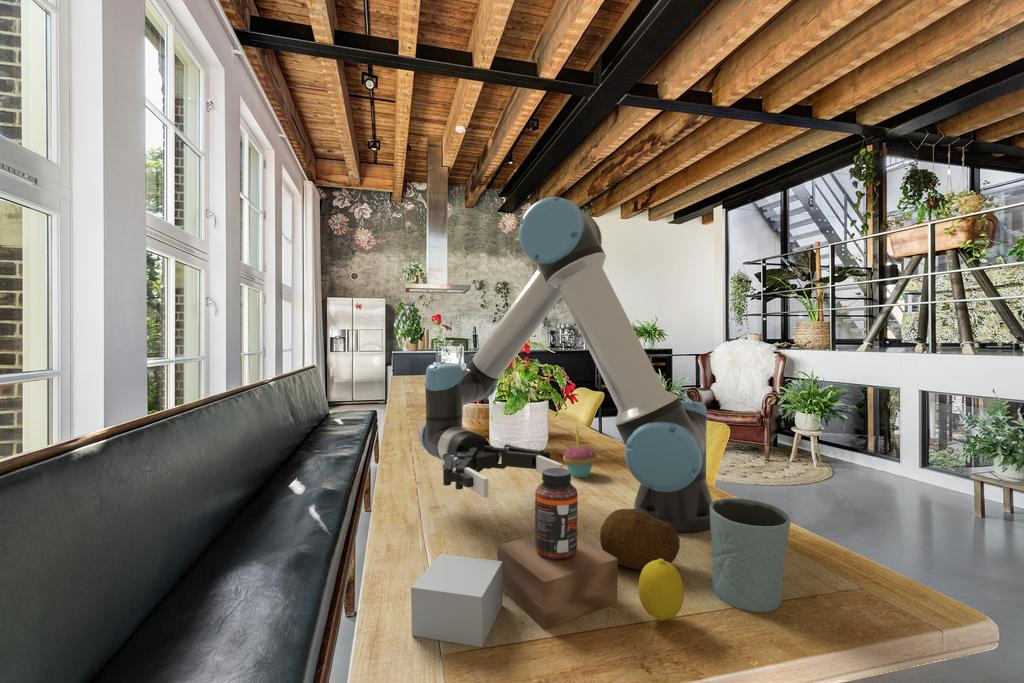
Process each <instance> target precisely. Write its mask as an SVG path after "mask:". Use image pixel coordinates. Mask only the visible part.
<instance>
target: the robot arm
mask: <svg viewBox="0 0 1024 683" xmlns="http://www.w3.org/2000/svg"><path fill="white" fill-rule="evenodd" d="M518 239H519V244H520V248H521V249H522V251H523V252H524V253H525V255H527V257H528V258H529V259H530V260H532V261H533V262H535V263H536V264H537V270H536V271H535V272H534V273H533V275H532V276H531V278H530V279H529V280H528V282H527V283H526V285H525V286H524V287H523V289H522V290H521V291H520V293H519V294H518V295H517V297H516V299H515V300H514V301H513V303H512V304H511V306H510V307H509V308H508V309H507V310H506V312H505V313H504V314H503V316H502V317H501V319H500V320H499V321H498V323H497V324H496V326H495V327H494V328H493V330H492V331H491V333H490V334H489V335H488V337H487V338H486V339H485V341H484V342H483V344H482V345H481V346H480V348H479V349H478V350H477V351H476V353H475V354H474V356H473V357H472V359H471V360H470V362H469V363H468V364H467V366H466V367H465V368H464V369H463V368H462V365H460V364H459V363H433V364H429V365H428V366H427V368H426V370H425V382H424V386H425V388H424V389H425V422H424V424H423V425H422V427H421V429H420V431H419V436H418V437H419V438H418V439H419V442H420V444H421V446H422V448H423V449H424V450H425V451H426V452H427V453H428V454H429V455H431V456H433V457H435V458H438V459H440V460H442V472H443V473H442V475H443V476H442V478H443V479H442V480H443V481H442V482H443V483H442V484H443V486H446V487H447V486H451V485H452V483H455V490H457V491H458V490H463V489H464V488H468V489H470V490H471V491H473V492H474V493H476V494H477V495H479V496H481V497H482V498H488V497H489V478H488V477H487V476H485V475H484V474H481V473H480V472H481V471H483V470H484V469H485V470H487V469H488V470H491V469H502V470H504V469H506V468H507V467H510V468H520V469H531V470H535V472H537V473H539V474H541V475H542V471H543V470H545V469H548V468H562V469H564V464H563V463H560V462H558V461H556V460H553V459H551V452H550V451H545V450H543V449H541V450H538V449H532V448H525V447H519V446H518V447H517V446H514V445H510V444H505V445H504V447H498V446H497V447H496V446H493V445H491V443H490V442H489V440H488V439H487V438H486V437H485V436H484V435H482V434H480V433H477V432H475V431H472V430H470V429H468V428H465V427H463V417H464V416H463V415H464V414H463V412H464V410H463V408H464V406H465V405H467V404H468V405H469V404H472V403H474V402H475V403H476V402H479V401H480V402H481V401H483V400H486V399H487V398H489V397H491V396H492V395H493V394H494V393H495V391H496V390H497V386H498V380H499V379H500V378H501V377H502V375H503V374H504V372H505V371H506V370H507V369H508V367H509V366H510V365H511V363H512V362H513V360H514V359H515V358H516V357H517V355H518V354H519V353H520V352H521V351H522V349H523V347H524V346H525V345H526V343H527V342H528V341H529V339H530V338H532V335H534V333H535V332H536V331H537V329H538V328H539V327H540V325H541V324H542V323H543V321H544V320H546V317H548V315H549V314H550V312H551V311H552V310H553V308H554V307H555V306H556V304H557V303H558V302H559V301H560V299H561V298H563V300H564V302H565V304H566V307H567V308H568V310H569V313H570V314H571V317H572V319H573V320H574V322H575V325H576V327H577V329H578V331H579V332H580V336H581V337H582V339H583V341H584V343H585V345H586V348H587V349H588V351H589V353H590V355H591V357H592V359H593V361H594V364H595V365H596V368H597V369H598V372H599V374H600V376H601V378H602V380H603V382H604V384H605V386H606V388H607V390H608V392H609V393H610V394H609V395H610V396H611V399H612V401H613V402H614V404H615V406H616V409H617V415H616V418H615V420H614V424H615V426H616V429H617V430H618V433H619V435H620V436H621V438H622V442H623V443H624V445H625V448H624V456H625V462H626V466H627V468H628V470H629V472H630V474H631V475H632V477H633V478H634V479H635V480H636V481H638V482H639V483H640V485H639V487H638V490H637V493H636V497H635V499H634V503H633V505H634V508H633V509H638V510H642V511H644V512H646V513H648V514H650V515H651V516H652V517H654V518H656V519H658V520H661V521H663V522H666V523H669V524H671V525H672V527H673V528H674V529H675V530H676V531H677V533H696V532H702V531H706V530H707V531H708V530H709V529H711V527H710V504H711V503H712V502H714V500H713V498H712V495H711V493H710V490H709V489H710V488H709V486H708V483H707V425H708V424H707V423H708V422H707V421H708V419H709V416H708V414H707V412H708V411H707V406H706V405H705V403H703V402H701V401H700V402H699V401H689V400H688V401H687V400H681V399H680V398H679V397H680V396H679V395H678V394H675V393H673V392H670V391H667V390H666V389H665V388H664V386H663V384H662V382H661V380H660V378H659V377H658V375H657V373H656V370H655V369H654V366H653V364H652V363H651V360H650V359H649V357H648V355H647V353H646V351H645V349H644V347H643V345H642V343H641V341H640V339H639V337H638V335H637V333H636V331H635V329H634V328H633V327H634V326H633V324H631V321H630V319H629V318H628V316H627V313H626V311H625V309H624V307H623V306H622V303H621V302H620V299H619V298H618V296H617V294H616V292H615V290H614V288H613V286H612V284H611V282H610V280H609V278H608V276H607V274H606V272H605V270H604V263H605V261H606V258H607V255H606V253H605V251H604V249H603V247H602V242H603V238H602V231H601V229H600V227H599V225H598V223H597V221H595V219H594V218H592V217H591V216H590V215H589V214H587V213H585V212H584V211H583V210H581V209H580V207H579V206H578V205H577V204H576V203H575V202H573V201H571V200H569V199H567V198H562V197H559V196H550V197H549V196H548V197H545V198H543V199H542V198H541V199H539V200H538V201H536V202H535V203H533V204H532V205H531V206H530V207H529V208H528V209H527V210H526V212H525V214H524V215H523V216H522V220H521V222H520V225H519V229H518ZM500 459H501V461H500ZM499 462H501V463H499Z"/></svg>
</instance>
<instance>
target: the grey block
mask: <svg viewBox="0 0 1024 683" xmlns="http://www.w3.org/2000/svg"><path fill="white" fill-rule="evenodd" d="M503 593H504V592H503V583H502V561H498V560H494V559H484V558H479V557H478V558H476V557H469V556H459V555H454V554H453V555H451V554H445V553H439V554H438V555H437V557H436V558H435V559H434V560H433V561H432V563H431V564H430V565H429V566H428V567H427V569H425V571H424V572H423V573H422V574H421V575H420V577H418V579H417V580H416V581H415V582H414V583H413V585H412V586H411V588H410V594H411V595H410V596H411V599H410V600H411V603H410V604H411V609H410V610H411V636H412V637H418V638H425V639H430V640H435V641H442V642H448V643H453V644H454V643H455V644H458V645H459V644H460V645H466V646H472V647H478V648H483V646H484V644H485V642H486V640H487V638H488V636H489V634H490V632H491V630H492V628H493V626H494V623H495V622H496V621H497V620H496V619H497V618H498V616H499V614H500V612H501V609H502V608H503V605H504V604H503V603H504V602H503V600H504V599H503Z"/></svg>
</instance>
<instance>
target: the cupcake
mask: <svg viewBox="0 0 1024 683" xmlns="http://www.w3.org/2000/svg"><path fill="white" fill-rule="evenodd" d="M575 427H576V429H575V435H576V436H575V438H576V445H575V446H571V447H569V448H567V449H566V450H565V451H564V452H563V457H562V460H563V461H564V463H565V464H566V465H567V468H568V469H567V470H569V471H570V472H571V477H573V478H580V479H581V478H586V477H587V478H588V477H589V476H590V473H591V469H592V466H593V465H594V464H595V463H597V461H598V457H597V456H598V455H597V453H596V452H595V451H594V450H593V449H591V448H589V447H586V446H580V435H579V434H580V433H579V432H580V431H579V429H578V425H576V426H575Z"/></svg>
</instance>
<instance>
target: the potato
mask: <svg viewBox="0 0 1024 683" xmlns="http://www.w3.org/2000/svg"><path fill="white" fill-rule="evenodd" d="M599 541H600V542H599V543H600V546H601V549H602V550H604V551H605V552H607V553H609V554H610V555H612V556H614V557H616V558H617V559H618V565H620V566H623V567H626V568H628V569H633V570H637V571H642V570H643V568H644V567H645V565H646V564H648V563H649V562H651V561H654V560H658V559H660V558H661V559H664V561H666V562H669V563H670V564H672V563H673V562H674V561H675V559H676V558H677V556H678V553H679V551H680V548H681V547H680V545H681V542H680V536H679V533H678V532H677V531H676V530H675V529H674V528H673V527H672V525H671V524H669V523H666V522H663V521H661V520H658V519H656V518H654V517H652V516H651V515H650V514H648V513H646V512H644V511H642V510H638V509H634V508H620V509H616V510H614V511H613V512H611V513H610V514H609V515H608V516H607V517H606V518H605V520H604V522H603V524H602V526H601V528H600V533H599Z"/></svg>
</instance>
